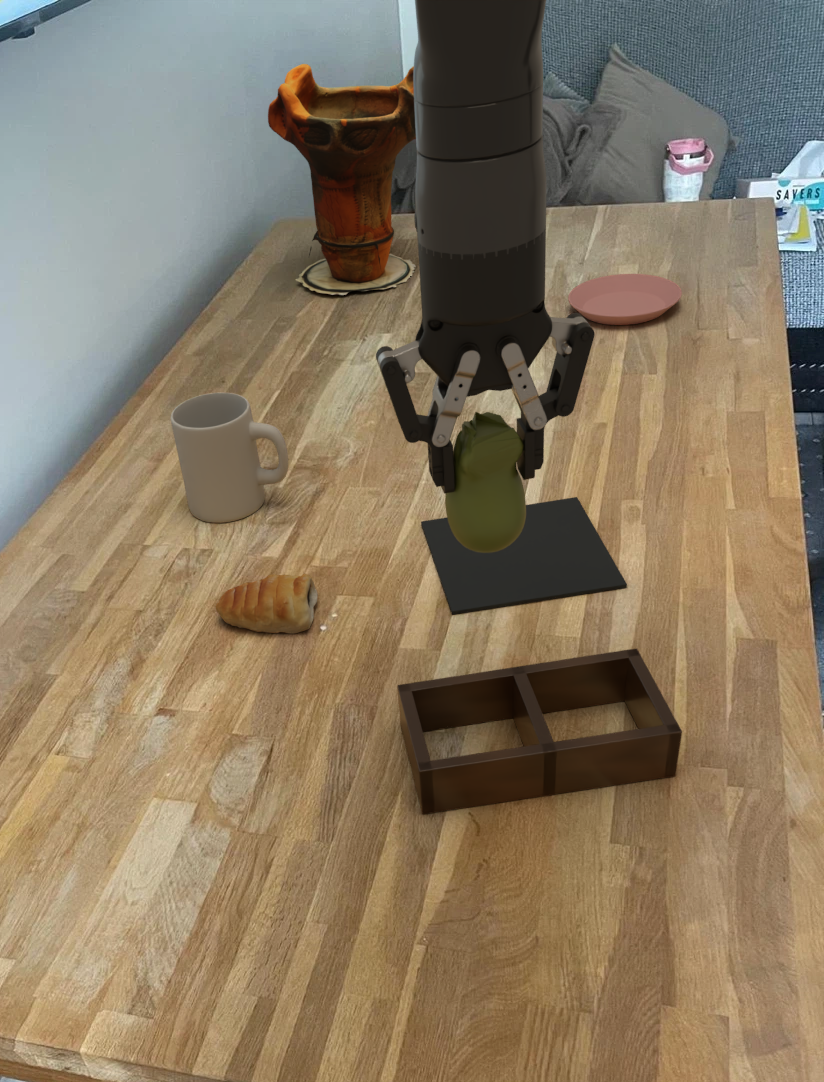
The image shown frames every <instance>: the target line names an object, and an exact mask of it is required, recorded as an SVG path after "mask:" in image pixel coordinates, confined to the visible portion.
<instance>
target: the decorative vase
mask: <svg viewBox="0 0 824 1082" xmlns="http://www.w3.org/2000/svg"><path fill="white" fill-rule="evenodd" d="M413 71H414V65H413V66H411V68H409V70H408V72H407V73H406V75H405V77H404V78H403V79H402V80H400V81H399V82H398V83H397V84H394V85H388V86H387V85H349V86H338V87H337V86H336V87H326V86H325V87H324V86H321V85H319V84H318V83H317V82H316V80H315V78H314V76H313V69H312V67H311V65H309V64H307V63H302V64H299V65H297V66H294V67H293V68H291V69H290V70H289V71H288V72H287V73H286V75H285V79H284V82H283V83H281V84H280V85H279V87H278V88H277V96H276V98H275V99H273V100H272V101H271V102H270V103H269V105H268V109H267V124H268V127H269V128H270V129H271V131H273V132H274V133H276V134H277V135H278V136H279V137H280V138H282V139H283V140H284V141H286V142H287V143H290V144H292V145H293V146H294V147H295V148H296V150H298V152H299V153H300V154H301V156H302V157H304V159H305V160H306V162H307V163H308V166H309V167H308V168H309V170H310V179H311V180H310V181H311V193H312V199H313V210H314V218H315V219H314V220H315V227H316V231H315V234H313V238H312V240H311V241H312V242H313V241H317V242H318V243H319V244H320V246H321V247H320V249H321V254H322V256H323V257H324V258H321V259H318V260H317V261H315V262H314V263H312V264H310V265H307V266H305V267H304V270H302V273H300V274H298V276H299V277H298V278H296V279H294V280H295V281H296V282H299V283H301V284H302V287H304V288H308V289H309V291H312V292H313V291H315V292H316V293H320V294H328V295H332V296H333V295H339V296H344V295H345V296H346V295H347V294H348V293H351V292H354V291H357V292H367V291H373V290H386V289H389V288H396V287H398V285H399V284H402V283H407V281H408V279H409V278H411V277H410V276H412V277H413V273H415V271H414V270H416V267H417V265H416V264H415V263H413V261H411V259H404V258H402V257H400V256H396V255H395V254H393V253H390V251H391V248H392V243H393V240H394V236H395V229H394V227H393V226H392V187H393V185H392V184H393V173H394V170H395V167H396V159H397V156H398V155H399V154H400V152H401V151H402V150H403V149H404V148H405V147H406V146H407V145H408V144H410V143H411V142H412V141H414V140H416V128H415V111H414V88H413ZM312 248H313V247H312V246H310V248H309V254H308V257H310V255H311V251H312Z"/></svg>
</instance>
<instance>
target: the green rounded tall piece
mask: <svg viewBox="0 0 824 1082" xmlns="http://www.w3.org/2000/svg"><path fill="white" fill-rule="evenodd" d="M455 438H456V439H455V443H454V445H453V459H454V482H455V492H451V493H445V494H444V495H445V496H444V505H445V513H446V517H447V518H448V522H449V525H450V528H451V530H452V532H453V534H454V536H455V537H456V539H457V540H458V541H459V542H460V543H461V544H462V545H463V546H464V547H466V548H468V549H470V550H472V551H475V552H481V553H491V552H496V551H500V550H502V549H504V548H506V547H508V546H509V545H510V544H512V543H513V542H514V541H515V540H516V539H517V538H518V536H519V535H520V533H521V532H522V529H523V527H524V524H525V519H526V505H527V503H526V502H527V501H526V494H525V493H526V492H525V488H524V484H523V479H522V476H521V474H520V472H519V471H518V467H517V461H518V459H519V458H520V456H521V454H522V452H523V448H524V444H523V441H522V439H521V437H519V435H518V434H517V430H516V429H515V428H514V427H512V426H510V425H509V424H508V423H507V422H506V420H505V419H504V418H503V417H502V415H501V414H497V413H493V412H489V411H485V412H483V413H480V412H478V411H475V412H474V414H473V417H472V419H471V420H469V421H468V420H464V421H463V422H462V424H461V430H460V431H459V432H458V434H457V436H456V437H455Z"/></svg>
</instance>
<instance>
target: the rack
mask: <svg viewBox="0 0 824 1082" xmlns="http://www.w3.org/2000/svg"><path fill="white" fill-rule="evenodd" d="M396 686H397V698H398V699H397V700H398V710H399V723H400V730H401V735H402V738H403V742H404V746H405V750H406V754H407V758H408V759H407V760H408V762H409V766H410V770H411V775H412V778H413V783H414V787H415V791H416V795H417V799H418V802H419V808H420V812H421V815H428V814H434V813H439V812H440V813H441V812H447V811H453V810H460V809H466V808H473V807H478V806H486V805H492V804H493V805H494V804H498V803H506V802H512V801H519V800H525V799H533V798H538V797H545V796H547V797H548V796H554V795H558V794H565V793H571V792H579V791H586V790H591V789H597V788H604V787H612V786H618V785H626V784H632V783H637V782H645V781H651V780H658V779H665V778H671V777H676V776H677V769H678V761H679V755H680V750H681V741H682V736H683V735H682V734H683V731H682V728H681V727H680V725H679V723H678V721H677V720H676V718H675V716H674V714H673V712H672V710H671V709H670V707H669V705H668V702H667V701H666V699H665V698H664V695H663V694H662V692H661V690H660V688H659V686H658V684H657V683H656V681H655V679H654V677H653V675H652V674H651V672H650V670H649V668H648V666H647V665H646V662H645V661H644V659H643V657H642V655H641V653H640V651H639V649H638V648H631V649H630V648H629V649H623V650H616V651H611V652H605V653H604V652H603V653H597V654H590V655H585V656H583V655H582V656H578V657H571V658H564V659H558V660H552V661H551V660H550V661H545V662H539V663H532V664H531V663H530V664H526V665H520V666H519V665H518V666H512V667H507V668H500V669H494V670H493V669H492V670H487V671H479V672H474V673H468V674H461V675H455V676H447V677H441V678H433V679H429V680H421V681H415V682H408V683H401V684H397V685H396ZM620 702H624V703H625V705H626V706H627V708H628V711H629V713H630V715H631V717H632V718H633V721H634V723H635V725H636V726H637V728H636V729H630V730H624V731H617V732H611V733H604V734H598V735H591V736H584V737H577V738H570V739H565V740H564V739H563V740H557V741H554V739H553V736H552V734H551V732H550V729H549V727H548V724H547V722H546V719H545V717H544V714H549V713H554V712H562V711H567V710H575V709H581V708H587V707H594V706H599V705H600V706H602V705H609V704H613V703H620ZM508 719H513V722H514V724H515V727H516V729H517V732H518V735H519V737H520V740H521V743H522V745H523V746H519V747H518V746H517V747H512V748H511V747H510V748H505V749H504V748H503V749H498V750H491V751H485V752H478V753H472V754H466V755H459V756H452V757H446V758H440V759H439V758H438V759H433V760H431V758H430V754H429V750H428V746H427V742H426V739H425V735H424V732H430V731H437V730H445V729H448V728H449V729H450V728H456V727H462V726H469V725H470V726H471V725H476V724H482V723H489V722H497V721H502V720H503V721H504V720H508Z"/></svg>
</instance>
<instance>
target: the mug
mask: <svg viewBox="0 0 824 1082" xmlns="http://www.w3.org/2000/svg"><path fill="white" fill-rule="evenodd" d="M170 413H171V414H170V425H171V429H172V434H173V438H174V443H175V447H176V453H177V456H178V457H177V458H178V462H179V467H180V470H181V476H182V481H183V486H184V490H185V497H186V503H187V507H188V510H189V511H190V514H191V515H192V516H193V517H195V518H196V519H197V520H200V521H203V522H207V523H216V524H222V523H223V524H224V523H229V522H230V523H231V522H235V521H238V520H242V519H244V518H247V517H249V516H251V515H252V514H254V513H255V512H257V511H258V510H259V509H260V508H261V507H262V506H263V505H264V503H265V499H266V491H265V485H275V484H279V483H280V482H282V481H283V480H284V479H285V478H286V476H287V474H288V472H289V471H288V469H289V451H288V447H287V443H286V440H285V438H284V435H283V433H282V432H281V430H280V429H279V428H278V427H277V426H275V425H272V424H269V423H265V422H257V421H254V417H253V413H252V408H251V404H250V402H249V400H248V398H246V397H245V396H243V395H241V394H238V393H233V392H225V391H223V392H220V391H219V392H211V393H204V394H200V395H197V396H194V397H191V398H188V399H186V400H184V401H183V402H181V403H179V404H178V405H176V407H174V408H173V410H172V412H170ZM260 439H267V440H269V441H271V442H272V443H273V445H274V446H275V449H276V452H277V457H278V464H277V467H276V468H274V469H267V468H264V467H262V466H261V461H260V455H259V450H258V443H257V440H260Z"/></svg>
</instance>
